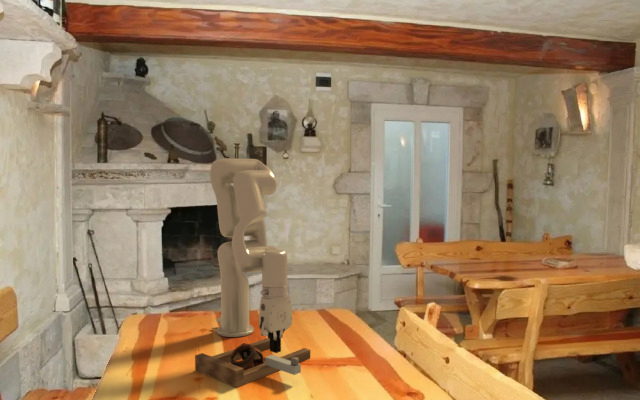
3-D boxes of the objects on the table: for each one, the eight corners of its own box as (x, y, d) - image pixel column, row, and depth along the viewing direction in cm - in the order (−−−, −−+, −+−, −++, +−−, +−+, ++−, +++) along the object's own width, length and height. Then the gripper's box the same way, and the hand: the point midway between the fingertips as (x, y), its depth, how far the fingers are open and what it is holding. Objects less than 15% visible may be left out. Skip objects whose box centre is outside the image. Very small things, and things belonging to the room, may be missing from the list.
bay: (195, 370, 148) (195, 355, 148) (269, 345, 170) (269, 331, 169) (236, 387, 136) (236, 370, 136) (310, 358, 158) (310, 343, 158)
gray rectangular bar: (265, 364, 145) (265, 351, 145) (271, 362, 147) (271, 349, 146) (294, 375, 138) (294, 360, 137) (300, 372, 139) (300, 358, 139)
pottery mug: (272, 373, 147) (261, 352, 144) (242, 392, 145) (230, 371, 141) (259, 350, 158) (249, 329, 154) (231, 366, 155) (219, 346, 152)
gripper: (264, 297, 150) (265, 361, 151) (301, 288, 161) (301, 348, 162) (247, 293, 155) (248, 355, 156) (283, 285, 166) (284, 342, 167)
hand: (275, 351), depth 159 cm, fingers closed
